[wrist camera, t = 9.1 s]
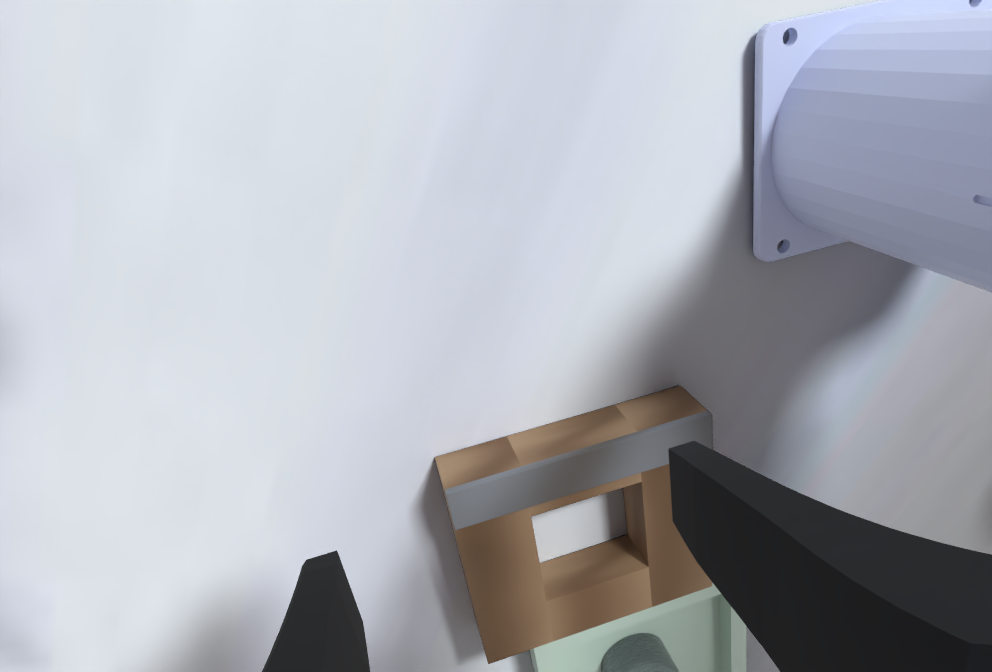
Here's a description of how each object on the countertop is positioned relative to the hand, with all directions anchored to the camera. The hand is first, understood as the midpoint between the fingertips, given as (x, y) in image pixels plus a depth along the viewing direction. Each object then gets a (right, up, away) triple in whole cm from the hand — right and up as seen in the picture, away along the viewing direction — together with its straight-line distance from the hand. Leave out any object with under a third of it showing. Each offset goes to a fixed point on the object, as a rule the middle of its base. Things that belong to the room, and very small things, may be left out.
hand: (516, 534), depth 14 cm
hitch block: (+3, -3, +13) cm, 14 cm away
